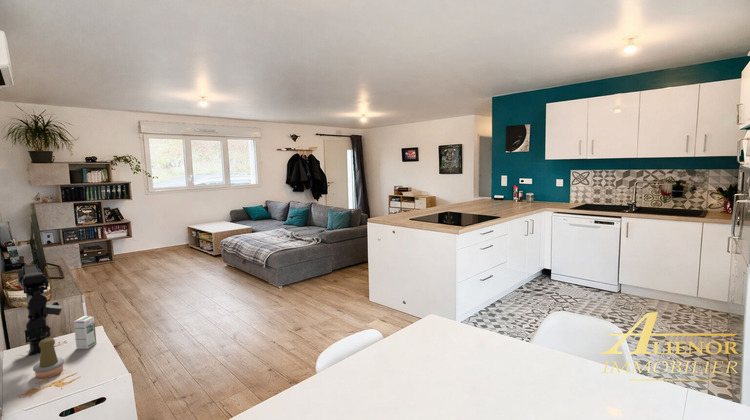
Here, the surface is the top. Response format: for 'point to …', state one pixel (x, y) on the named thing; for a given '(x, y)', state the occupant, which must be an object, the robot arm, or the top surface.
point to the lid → (40, 369)
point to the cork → (47, 353)
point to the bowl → (49, 372)
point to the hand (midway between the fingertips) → (39, 335)
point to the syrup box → (85, 332)
